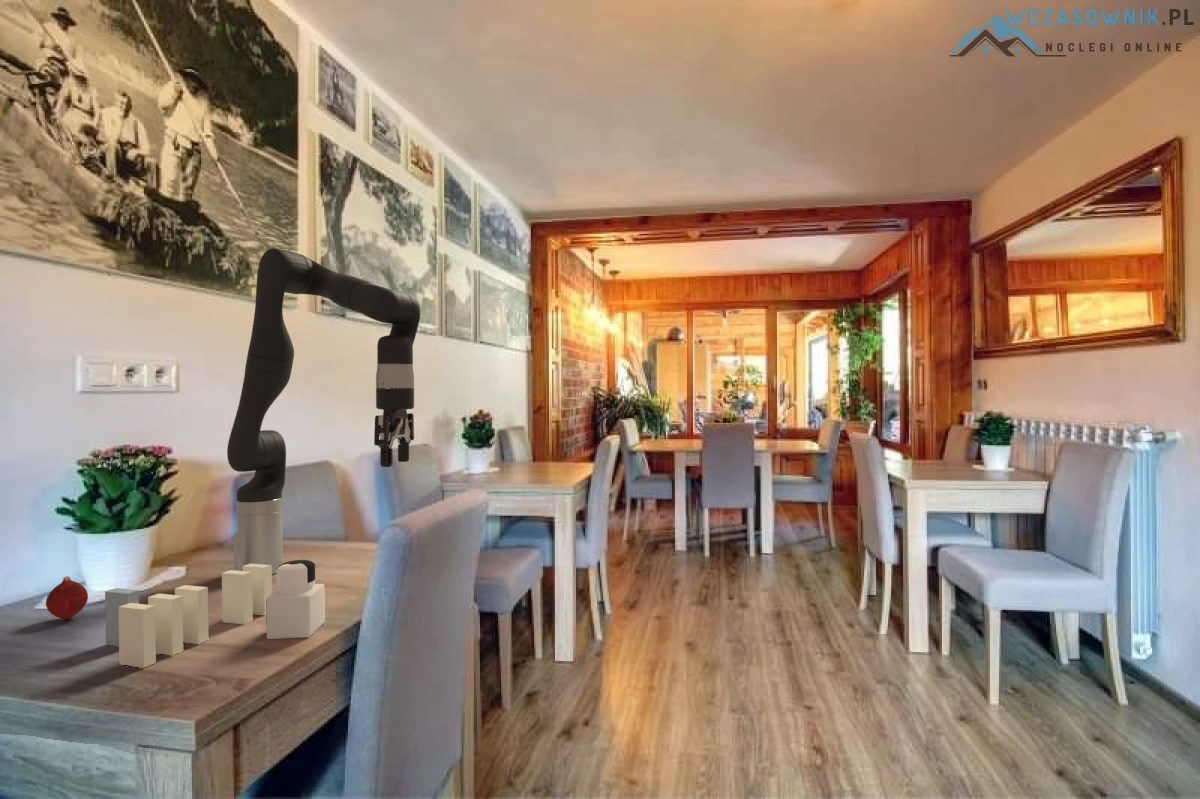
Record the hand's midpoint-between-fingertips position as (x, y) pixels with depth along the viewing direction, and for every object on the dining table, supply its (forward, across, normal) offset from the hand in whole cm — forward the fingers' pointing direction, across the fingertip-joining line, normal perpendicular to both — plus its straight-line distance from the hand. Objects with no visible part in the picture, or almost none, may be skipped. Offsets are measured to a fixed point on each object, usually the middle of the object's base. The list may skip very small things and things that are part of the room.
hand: (395, 464), depth 124 cm
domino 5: (+27, +17, -22) cm, 39 cm away
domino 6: (+27, +13, -22) cm, 37 cm away
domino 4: (+27, +26, -24) cm, 45 cm away
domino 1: (+27, +28, -35) cm, 52 cm away
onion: (+28, +18, -55) cm, 64 cm away
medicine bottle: (+27, +21, -9) cm, 35 cm away
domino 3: (+27, +30, -25) cm, 48 cm away
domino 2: (+27, +35, -26) cm, 51 cm away
